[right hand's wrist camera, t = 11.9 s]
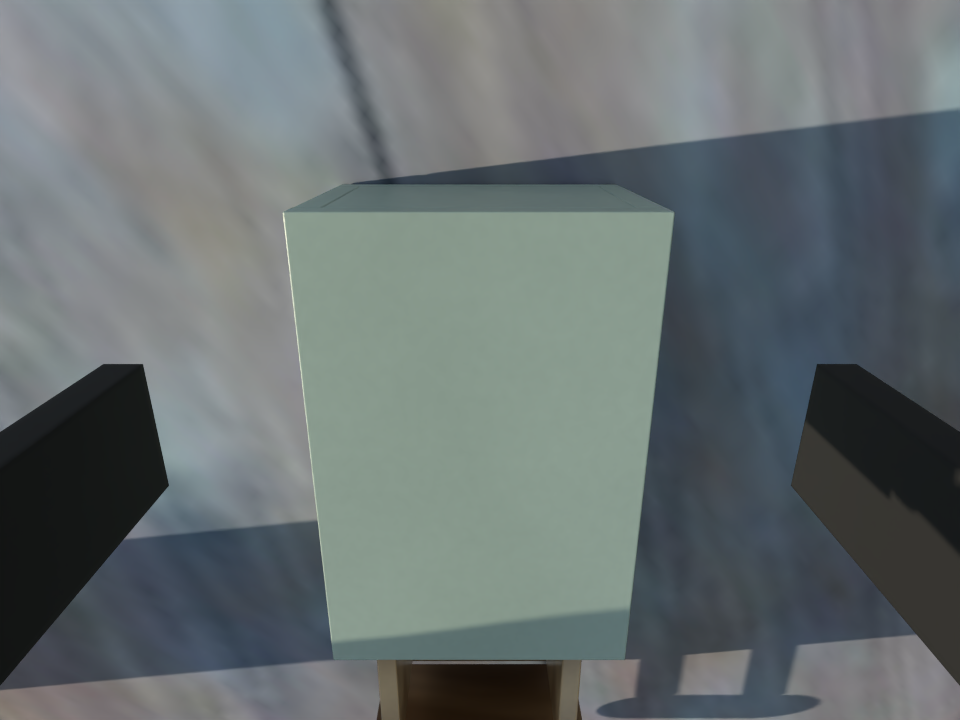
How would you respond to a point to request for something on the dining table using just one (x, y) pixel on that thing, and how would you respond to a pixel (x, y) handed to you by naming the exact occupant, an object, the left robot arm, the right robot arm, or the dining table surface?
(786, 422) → the dining table surface
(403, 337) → the cabinet
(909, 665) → the dining table surface
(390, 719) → the drawer
